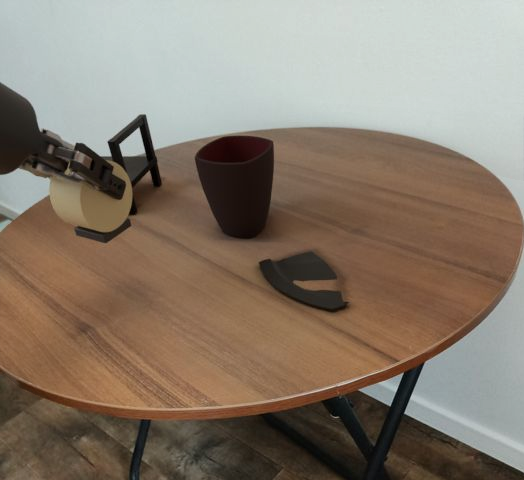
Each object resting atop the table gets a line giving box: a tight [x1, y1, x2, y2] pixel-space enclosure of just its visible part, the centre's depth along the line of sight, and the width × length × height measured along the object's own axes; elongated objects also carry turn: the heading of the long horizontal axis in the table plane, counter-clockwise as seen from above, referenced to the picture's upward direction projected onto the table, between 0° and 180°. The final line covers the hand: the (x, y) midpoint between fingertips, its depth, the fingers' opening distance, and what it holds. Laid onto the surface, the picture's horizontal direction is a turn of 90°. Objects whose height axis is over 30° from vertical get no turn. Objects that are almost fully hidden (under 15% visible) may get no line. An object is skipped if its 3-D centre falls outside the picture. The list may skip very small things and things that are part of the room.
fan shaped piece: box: [258, 251, 350, 313], centre depth 64 cm, size 8×14×2 cm, turn 21°
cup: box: [194, 135, 275, 239], centre depth 76 cm, size 10×14×12 cm
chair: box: [100, 113, 163, 216], centre depth 87 cm, size 12×12×12 cm
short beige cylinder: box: [48, 160, 133, 244], centre depth 58 cm, size 5×8×8 cm, turn 149°
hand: (103, 187), depth 59 cm, fingers closed on short beige cylinder, 4 cm apart
